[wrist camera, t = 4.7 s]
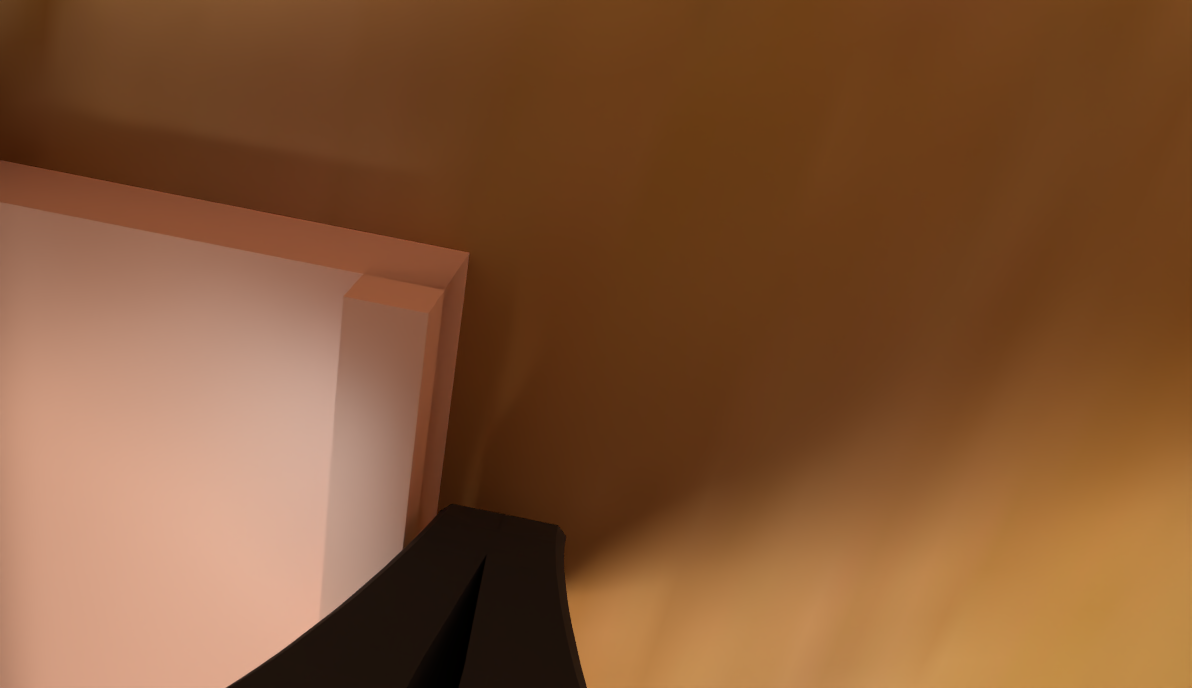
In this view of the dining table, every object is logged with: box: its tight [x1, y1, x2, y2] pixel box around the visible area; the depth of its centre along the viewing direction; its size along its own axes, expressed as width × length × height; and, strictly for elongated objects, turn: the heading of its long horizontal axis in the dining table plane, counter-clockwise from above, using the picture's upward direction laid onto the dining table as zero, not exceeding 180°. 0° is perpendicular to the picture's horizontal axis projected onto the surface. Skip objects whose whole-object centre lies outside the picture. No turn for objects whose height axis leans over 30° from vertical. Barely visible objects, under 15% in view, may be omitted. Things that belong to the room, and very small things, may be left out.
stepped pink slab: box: [0, 160, 470, 688], centre depth 12 cm, size 9×7×2 cm
